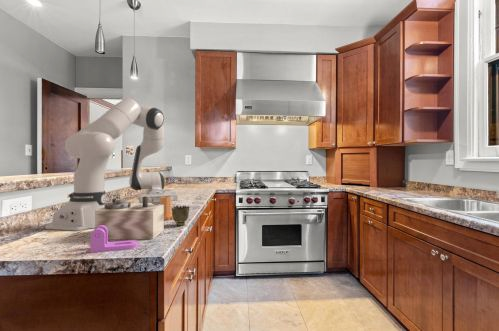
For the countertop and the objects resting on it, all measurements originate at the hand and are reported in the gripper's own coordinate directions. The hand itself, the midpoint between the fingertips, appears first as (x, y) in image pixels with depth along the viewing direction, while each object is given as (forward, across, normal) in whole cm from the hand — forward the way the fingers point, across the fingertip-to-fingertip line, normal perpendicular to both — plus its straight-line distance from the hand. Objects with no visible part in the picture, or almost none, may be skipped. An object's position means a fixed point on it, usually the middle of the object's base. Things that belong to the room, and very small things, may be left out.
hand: (161, 199), depth 141 cm
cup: (+29, +2, +7) cm, 30 cm away
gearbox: (+35, -17, +7) cm, 40 cm away
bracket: (+50, -23, +7) cm, 55 cm away
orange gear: (+12, 0, +7) cm, 14 cm away
